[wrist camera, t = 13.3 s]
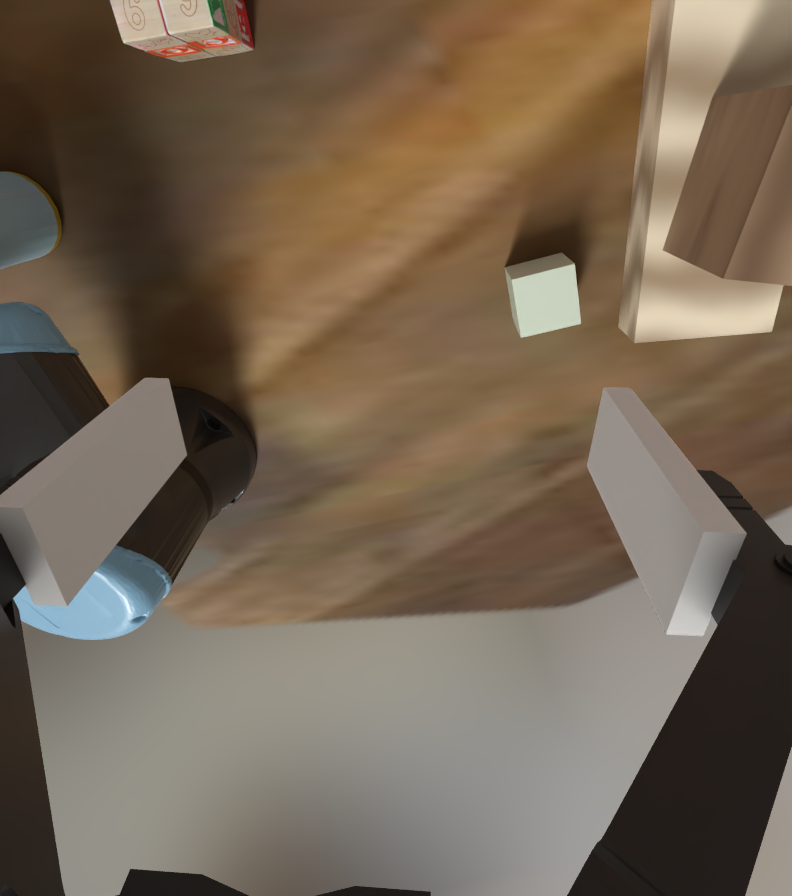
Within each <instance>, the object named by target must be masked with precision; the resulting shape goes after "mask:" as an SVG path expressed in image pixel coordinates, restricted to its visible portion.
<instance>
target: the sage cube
mask: <svg viewBox="0 0 792 896" xmlns="http://www.w3.org/2000/svg"><path fill="white" fill-rule="evenodd" d="M505 273H506V279H507V285H508V291H509V297H510V303H511V309H512V315H513V321H514V323H515V325H516V328H517V330H518V332H519V334H520V337H521V338H523V337H527V336H531V335H535V334H539V333H544V332H548V331H552V330H556V329H561V328H565V327H569V326H573V325H578V324H581V319H580V309H579V299H578V290H577V280H576V270H575V263H573V262H572V261H571V260H570V259H569V258H568V257H567V256H565V255H564V254H563V253H558V254H554V255H550V256H546V257H542V258H539V259H535V260H531V261H527V262H523V263H520V264H516V265H512V266H508V267H505Z"/></svg>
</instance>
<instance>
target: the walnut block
mask: <svg viewBox="0 0 792 896" xmlns="http://www.w3.org/2000/svg"><path fill="white" fill-rule="evenodd" d="M663 251H665V252H667V253H669V254H671V255H673V256H676V257H678V258H680V259H682V260H684V261H686V262H688V263H690V264H693V265H695V266H697V267H699V268H701V269H703V270H705V271H707V272H710V273H712V274H714V275H716V276H718V277H720V278H722V279H728V280H738V281H748V282H758V283H768V284H778V285H788V286H792V85H788V86H782V87H776V88H770V89H763V90H757V91H751V92H745V93H738V94H732V95H726V96H720V97H713V98H712V100H711V103H710V106H709V109H708V112H707V115H706V118H705V121H704V125H703V128H702V131H701V134H700V137H699V140H698V143H697V146H696V149H695V152H694V155H693V158H692V161H691V164H690V167H689V170H688V174H687V177H686V180H685V183H684V186H683V189H682V192H681V195H680V198H679V201H678V204H677V207H676V210H675V213H674V216H673V219H672V223H671V226H670V229H669V232H668V235H667V238H666V241H665V244H664V247H663Z"/></svg>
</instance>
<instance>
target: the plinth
mask: <svg viewBox="0 0 792 896" xmlns="http://www.w3.org/2000/svg"><path fill="white" fill-rule="evenodd" d="M788 85H792V0H652V6H651V16H650V26H649V35H648V45H647V55H646V64H645V74H644V84H643V94H642V103H641V113H640V123H639V132H638V142H637V152H636V162H635V171H634V181H633V191H632V200H631V210H630V220H629V230H628V239H627V249H626V259H625V268H624V278H623V288H622V298H621V307H620V317H619V328H620V329H621V330H622V331H623V332H624V333H625V334H626V335H627V336H628V337H629V338H630V339H631V340H632V341H633V342H634V343H640V342H652V341H665V340H677V339H689V338H701V337H714V336H726V335H738V334H750V333H763V332H772V329H773V325H774V321H775V317H776V313H777V309H778V305H779V301H780V297H781V293H782V289H783V285H778V284H768V283H758V282H748V281H738V280H728V279H722V278H720V277H718V276H716V275H714V274H712V273H710V272H707V271H705V270H703V269H701V268H699V267H697V266H695V265H693V264H690V263H688V262H686V261H684V260H682V259H680V258H678V257H676V256H673V255H671V254H669V253H667V252H665V251H663V247H664V244H665V241H666V238H667V235H668V232H669V229H670V226H671V223H672V219H673V216H674V213H675V210H676V207H677V204H678V201H679V198H680V195H681V192H682V189H683V186H684V183H685V180H686V177H687V174H688V170H689V167H690V164H691V161H692V158H693V155H694V152H695V149H696V146H697V143H698V140H699V137H700V134H701V131H702V128H703V125H704V121H705V118H706V115H707V112H708V109H709V106H710V103H711V100H712V98H713V97H720V96H726V95H732V94H738V93H745V92H751V91H757V90H763V89H770V88H776V87H782V86H788Z"/></svg>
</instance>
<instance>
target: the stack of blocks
mask: <svg viewBox="0 0 792 896" xmlns="http://www.w3.org/2000/svg"><path fill="white" fill-rule="evenodd" d="M110 3H111V6H112V9H113V13H114V16H115V20H116V22H117V26H118V29H119V32H120V36H121V39H122V41H123V43H124V44H127V45H130V46H133V47H136V48H138V49H141V50H145V52H148V53H150V54H153V55H157V56H160V57H164V58H167V59H171V60H175V61H178V62H186V61H192V60H198V59H204V58H210V57H215V56H225V55H231V54H237V53H242V52H247V51H251V50H253V49H254V44H253V40H252V35H251V31H250V26H249V21H248V17H247V11H246V7H245V2H244V0H110Z"/></svg>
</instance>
